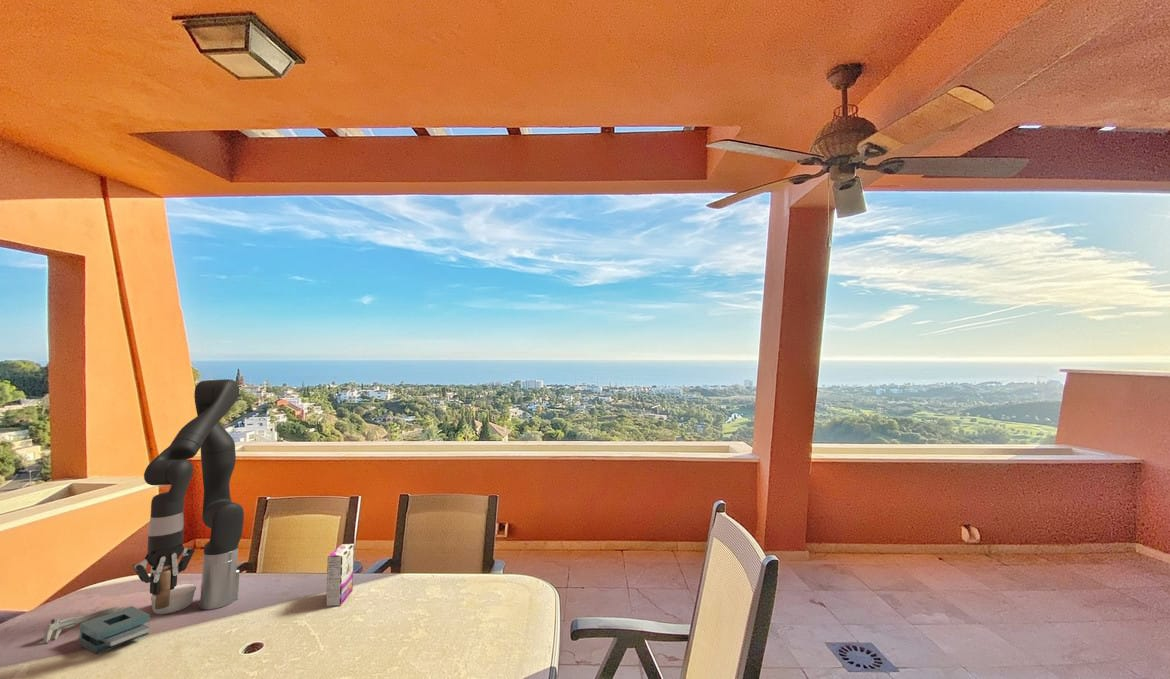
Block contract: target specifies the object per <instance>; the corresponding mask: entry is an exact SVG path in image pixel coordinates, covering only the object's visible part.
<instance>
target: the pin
mask: <svg viewBox="0 0 1170 679" xmlns="http://www.w3.org/2000/svg"><path fill="white" fill-rule="evenodd" d="M159 581H160V586H159V595H156V602H155V609H163V608H166V607H168V606H169V605H170V587H171V568H168V567H166V568H163V569H162V572H161V573H160V577H159Z"/></svg>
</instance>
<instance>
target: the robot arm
mask: <svg viewBox="0 0 1170 679" xmlns="http://www.w3.org/2000/svg"><path fill="white" fill-rule="evenodd" d="M239 397H240V386H239V384H238V382H237V381H236V380H233V379H225V378H224V379H212V380H210V379H207V380H201V381H199V382H198V383H197V384H196V385H195V388H194V405H195V410H196V411H195V412H196V414H197V415H196V417H194V418H193V419H191V420H190V421H188V422H187V423H186V424H185V425H184V426H183V427H181V429H180V430H179V431H178V432H177V434H176V435H175V437H174V439H172V441H171V443H170V445H169V446H167V448H165V449H164V450H163V451H161V453H160V454H158V455H157V456H156V457H155V458H154V459H152V460H151V461H150V462H149V463H148V465H147V466H146V468H145V470H144V474H143V479H144V482H146V484H147V485H150V486H169V485H170V486H171V487H170V488H169V490H168V491H166V492H162V493H159V494H156V495H154V496H153V497H152V499H151V501H150V502H151V503H150V516H149V517H150V518H149V523H148V533H147V553H146V556H144V559H143V560H142V561H139V563H133V565H132V569H133V570H134V572H135V573H136V576H138V578H139V579H140V581H141V582H142V583H146V584H149V594H151V596H152V595H154V596H156V595H159V586H160V581H159V577H160V573H161V572H162V569H164V568H165V567H166V568H171V587H170V590H173V589H174V587H175V586H177V584H178V575H179V574H180V573H181V572H184V571H185V570H186V569H187V568H188V565H189V563H190V561H191V559H192V557H193V556H194V554H195V549H194V548H190V547H187V548H185V547H184V545H183V543H184V533H185V531H184V529H185V527H184V526H185V515H184V508H185V507H184V506H185V505H184V504H185V497H186V494H187V491H188V487H189V484H190V482H191V479H192V478H193V473H194V465H193V464H192V462H191V461H190V460H189V459H191V458H194V457H195V456H196V455H197V454H198V452H199V451H200V463H201V464H200V465H201V471H202V472H201V474H202V476H201V477H202V484H203V500H202V517H201V518H202V522H203V524H204V525H205V526H206V527H207V528H209V529H210V538H209V541H207V542H206V543H205V545H204V548H203V558H202V571H201V572H202V573H201V587H200V598H199V608H200V609H201V610H215V609H218V608H223V607H225V606H228V605H229V604H232V603H233V602H234V601H235V600H238V599H239V585H240V572H241V571H240V569H238V561H239V560H238V559H239V543H240V541H241V539H242V537H243V536H242V535H243V527H244V521H245V520H244V519H245V513H244V507H243V506H242V505H241V504H240V503H237V502H234V501H232V498H231V491H230V490H231V489H230V483H231V478H232V475H233V472H234V469H235V466H236V458H237V456H236V444H235V440H234V439H233V437H232V435H231V434H230V433H229V432H228V431H227V430H226V429H225V427H224V426H223V425H222V424H221V422H220V421H221V420H222V419H223V418H224V417H225V415H226V414H227V413H228V412H229V410H231V408H232V407H233V406H234V405H235V404H236V402H237V401H238V398H239ZM180 557H181V558H180ZM179 558H180V560H179V562H178V559H179ZM147 564H148V565H149V566H150V567H151V568H150V573H149V574H150V575H149V574H148V572H147V571H146V569H147Z"/></svg>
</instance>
